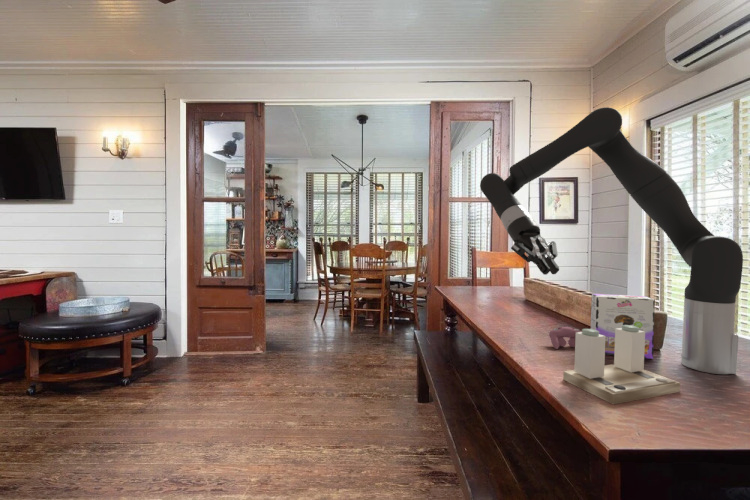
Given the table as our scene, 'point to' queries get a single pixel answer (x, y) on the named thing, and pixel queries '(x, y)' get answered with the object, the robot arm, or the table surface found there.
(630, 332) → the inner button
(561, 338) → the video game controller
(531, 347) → the table surface
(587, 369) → the white bottle with cap
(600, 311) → the candy box
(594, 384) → the switch board
